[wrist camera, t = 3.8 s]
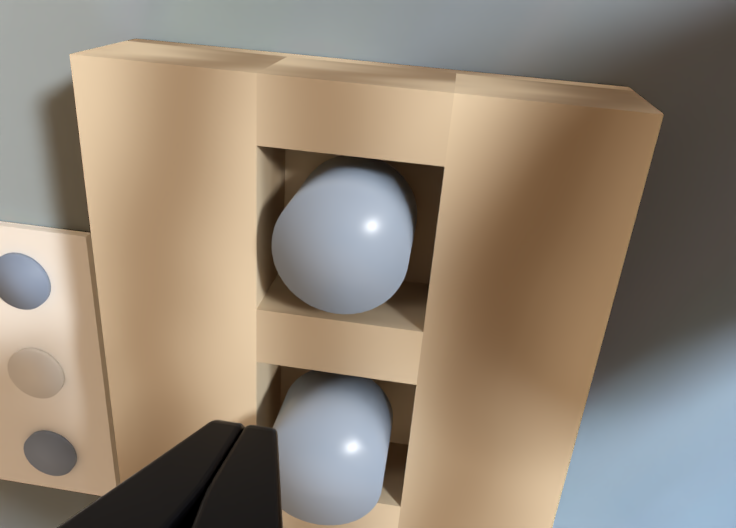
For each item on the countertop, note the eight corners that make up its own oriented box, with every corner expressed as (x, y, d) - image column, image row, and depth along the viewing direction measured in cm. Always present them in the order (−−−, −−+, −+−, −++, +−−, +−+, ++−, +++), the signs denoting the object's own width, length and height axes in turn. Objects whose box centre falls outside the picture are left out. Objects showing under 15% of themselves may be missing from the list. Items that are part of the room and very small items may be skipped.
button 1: (424, 161, 15) (416, 195, 13) (410, 274, 17) (401, 322, 14) (300, 147, 16) (272, 178, 13) (296, 259, 17) (270, 304, 15)
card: (91, 232, 19) (82, 239, 18) (121, 492, 23) (115, 502, 23) (-51, 214, 19) (-63, 220, 19) (5, 473, 23) (-4, 483, 23)
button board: (628, 87, 15) (663, 114, 12) (502, 607, 23) (507, 694, 20) (135, 38, 16) (69, 54, 14) (174, 550, 24) (137, 625, 21)
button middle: (398, 375, 17) (387, 438, 15) (387, 463, 18) (376, 534, 16) (285, 359, 17) (258, 418, 15) (283, 447, 19) (258, 514, 16)
